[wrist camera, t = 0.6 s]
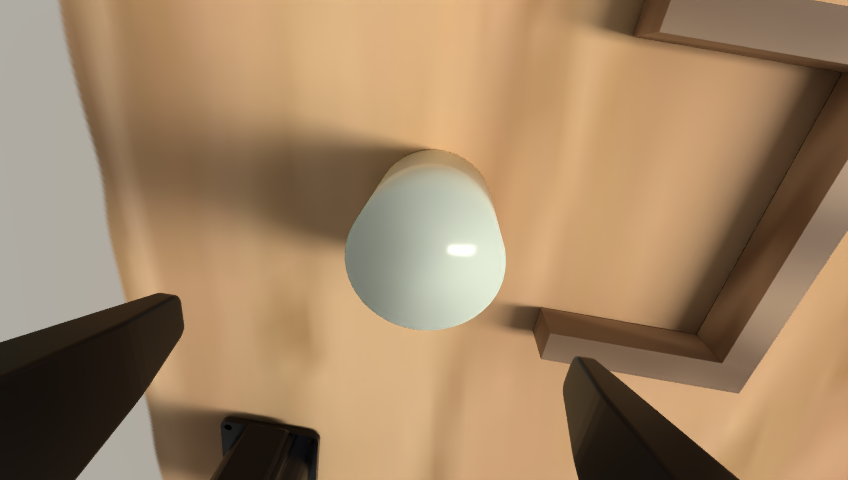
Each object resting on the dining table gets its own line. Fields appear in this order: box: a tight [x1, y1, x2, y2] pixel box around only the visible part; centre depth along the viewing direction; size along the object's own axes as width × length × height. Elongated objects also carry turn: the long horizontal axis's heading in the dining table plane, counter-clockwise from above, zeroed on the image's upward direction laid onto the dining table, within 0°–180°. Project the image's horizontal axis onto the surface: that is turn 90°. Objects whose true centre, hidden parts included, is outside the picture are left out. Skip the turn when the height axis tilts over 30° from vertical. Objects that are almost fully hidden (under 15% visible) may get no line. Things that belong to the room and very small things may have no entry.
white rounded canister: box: [345, 150, 506, 330], centre depth 16 cm, size 6×6×6 cm
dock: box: [533, 0, 848, 394], centre depth 17 cm, size 16×10×2 cm, turn 171°
